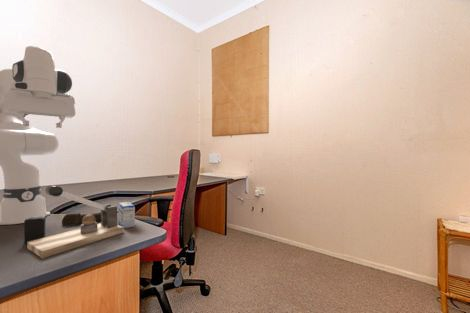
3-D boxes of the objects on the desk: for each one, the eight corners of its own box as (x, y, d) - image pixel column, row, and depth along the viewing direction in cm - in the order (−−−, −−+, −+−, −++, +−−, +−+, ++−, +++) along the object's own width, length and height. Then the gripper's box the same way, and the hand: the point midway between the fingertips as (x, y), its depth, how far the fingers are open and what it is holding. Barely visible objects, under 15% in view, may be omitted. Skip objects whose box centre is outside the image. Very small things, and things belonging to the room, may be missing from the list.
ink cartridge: (45, 239, 77) (45, 216, 77) (43, 241, 75) (44, 217, 75) (26, 241, 75) (26, 217, 75) (24, 244, 73) (24, 219, 73)
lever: (43, 192, 70) (49, 183, 71) (106, 213, 86) (110, 206, 88) (48, 194, 68) (54, 185, 69) (112, 215, 84) (116, 207, 85)
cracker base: (27, 248, 70) (26, 217, 70) (106, 226, 90) (105, 202, 90) (42, 258, 64) (41, 224, 63) (123, 232, 84) (123, 206, 83)
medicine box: (118, 223, 94) (117, 202, 94) (129, 221, 97) (129, 201, 96) (123, 228, 88) (122, 206, 87) (135, 226, 91) (134, 204, 90)
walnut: (80, 226, 79) (79, 214, 79) (92, 223, 82) (92, 212, 82) (85, 228, 76) (85, 216, 76) (98, 225, 80) (97, 214, 80)
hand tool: (115, 218, 102) (115, 208, 102) (114, 220, 98) (114, 210, 98) (64, 224, 94) (63, 213, 94) (61, 227, 90) (61, 215, 90)
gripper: (72, 97, 95) (74, 130, 94) (2, 87, 79) (3, 126, 78) (76, 93, 90) (78, 127, 90) (3, 81, 75) (5, 122, 74)
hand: (43, 126), depth 84 cm, fingers open, 8 cm apart
